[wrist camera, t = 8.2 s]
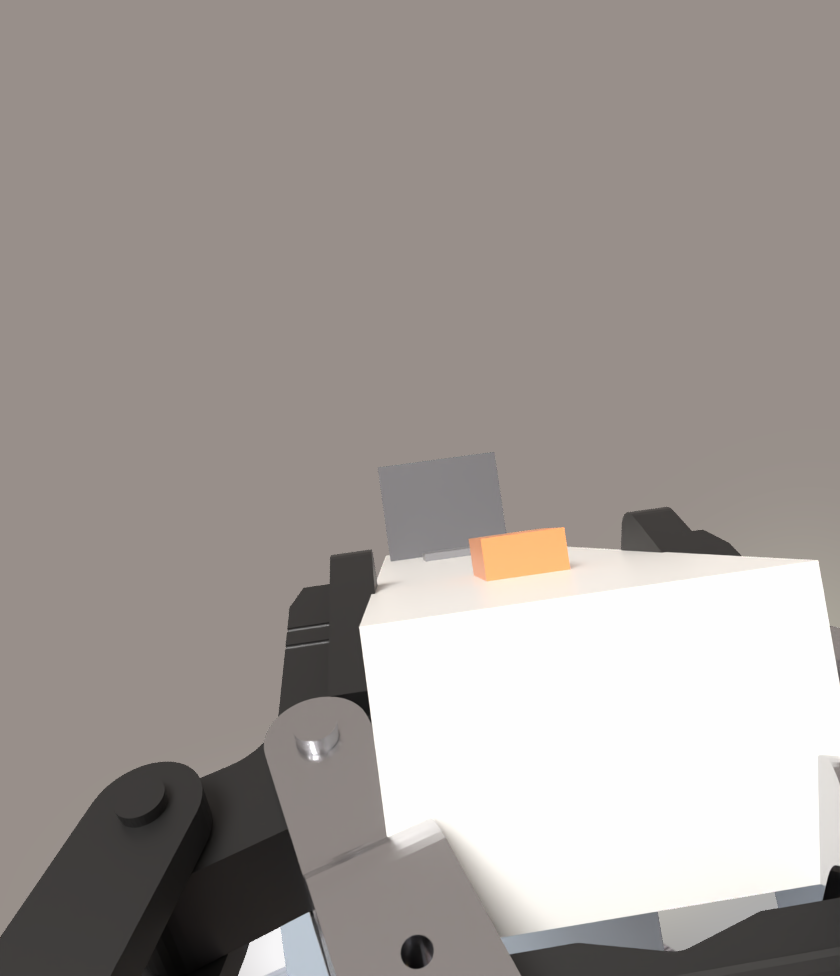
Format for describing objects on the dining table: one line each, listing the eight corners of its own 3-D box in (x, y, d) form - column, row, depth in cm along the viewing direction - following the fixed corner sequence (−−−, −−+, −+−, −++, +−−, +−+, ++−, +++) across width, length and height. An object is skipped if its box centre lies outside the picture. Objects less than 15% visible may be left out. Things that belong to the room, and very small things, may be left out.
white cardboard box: (873, 875, 7) (763, 242, 7) (402, 954, 7) (315, 297, 7) (491, 607, 33) (472, 474, 33) (394, 621, 32) (376, 486, 33)
